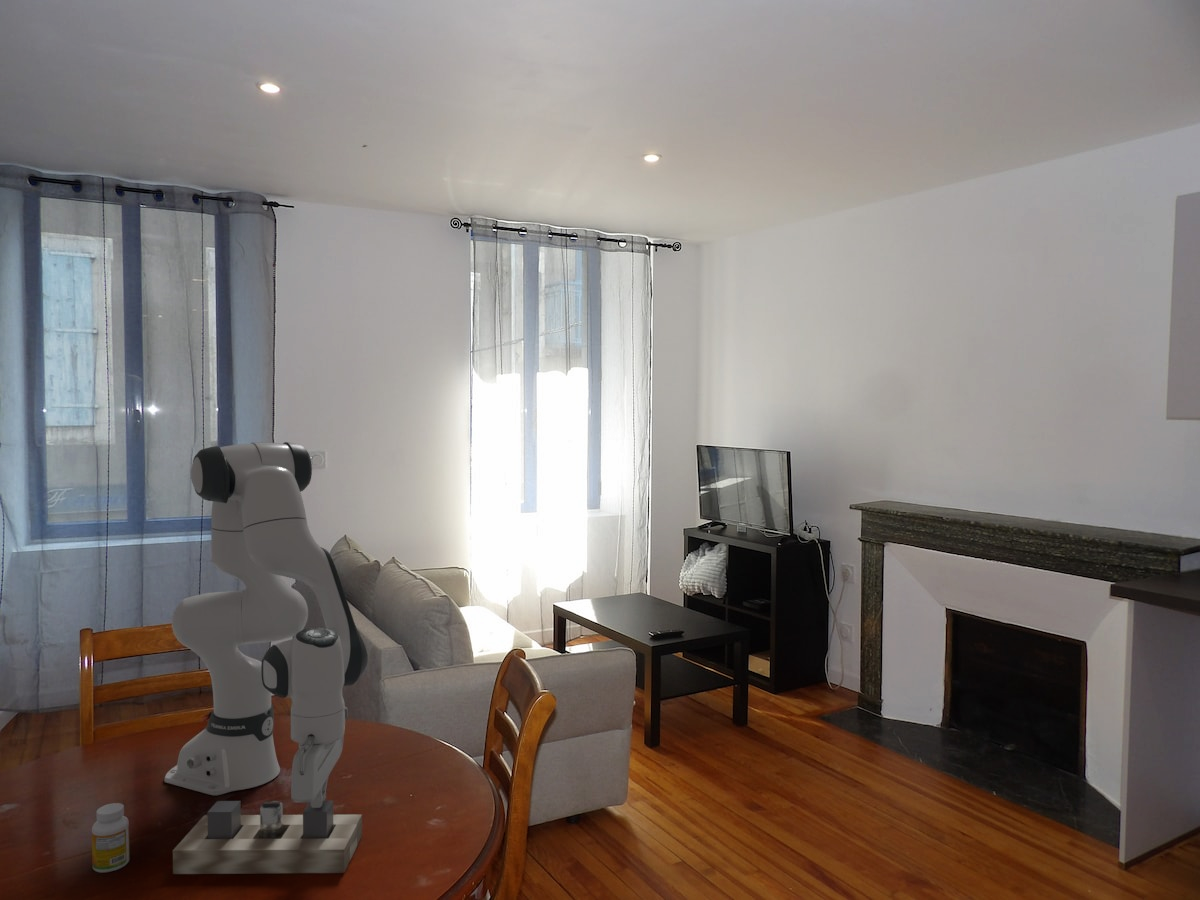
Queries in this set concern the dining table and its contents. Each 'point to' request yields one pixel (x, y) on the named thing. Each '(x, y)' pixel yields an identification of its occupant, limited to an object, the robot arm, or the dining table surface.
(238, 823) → the inner button
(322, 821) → the outer button
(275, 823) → the steel dial
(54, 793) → the dining table surface
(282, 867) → the mount
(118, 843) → the supplement bottle
